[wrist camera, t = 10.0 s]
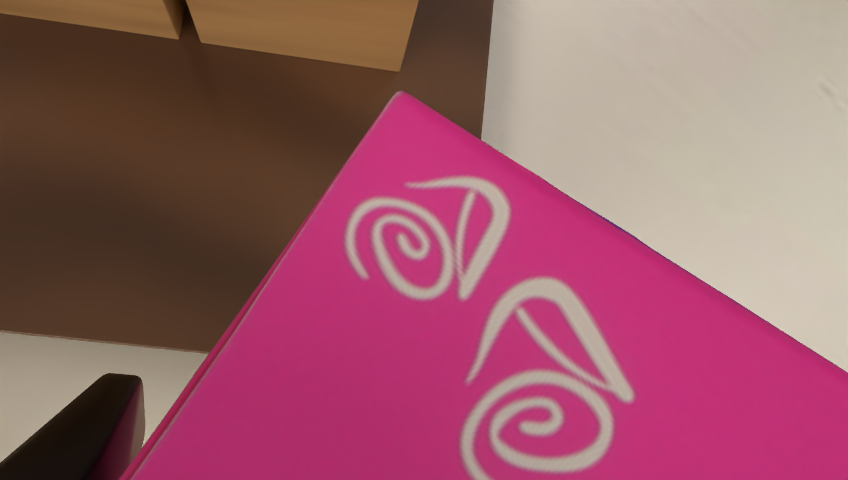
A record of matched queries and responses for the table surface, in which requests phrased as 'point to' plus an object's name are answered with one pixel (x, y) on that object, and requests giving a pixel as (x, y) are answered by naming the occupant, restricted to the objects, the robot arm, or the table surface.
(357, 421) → the supplement box
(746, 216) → the table surface
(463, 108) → the wooden block stand
